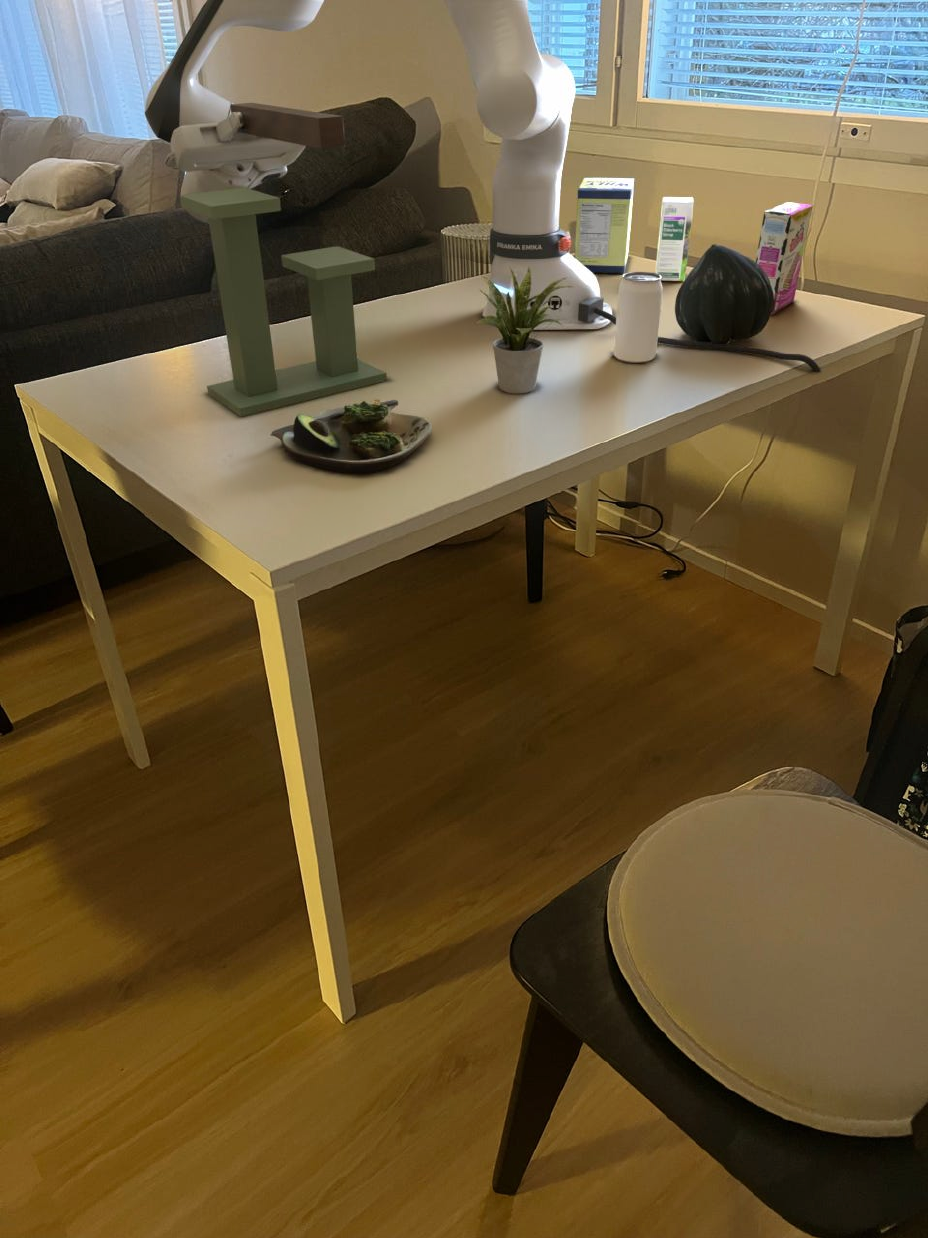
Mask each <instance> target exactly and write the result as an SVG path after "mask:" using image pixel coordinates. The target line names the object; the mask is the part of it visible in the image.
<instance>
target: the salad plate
mask: <svg viewBox="0 0 928 1238" xmlns="http://www.w3.org/2000/svg"><path fill="white" fill-rule="evenodd" d="M398 406H399V400H396V399H391V400H386V401H382V402H380V399H375V400H374V403H373V404H372V403H368V402H367V401H366V400H362V402H361V403H353V404H352V405H350V404H348V405H344V406H342V407H341V406H340V407H333V408H329V409H327V410H325V411H322V412H321V413H318V414H317V415H315V416H314V417H313V416H310V415H308V414H304V413H300V414H297V415H296V416H295V418H294V421H293V424H290V425H287V426H283V427H281V428H277V429H275V430H272V432H271V433H270V436H273V437H275V438H277V439H278V440H280V442H281V444H282V446H283V447H284V449H285V451H287V452H288V454H289V455H290V456H291V457H292V458H293V459H294V460H295V461H297V462H299V463H300V464H304V465H308V466H311V467H314V468H318V469H321V470H325V471H330V472H335V473H342V474H373V473H377V472H381V471H384V470H387V469H389V468H391V467H393V466H395V465H396V464H399V463H400V462H402V461H404V460H405V459H407V458H408V457H409V455H410V454H411V453H413V451H415V450H416V449H418V448H419V447H421V445H422V444H423V443H424V442H425V441H426V439H427V438H428V437H429V436H430V435H431V434H433V433H432V432H433V425H432V423H430V422H429V420H428V419H426V418H425V417H421V416H418V415H411V414H403V413H396V412H392V411H393V409H395V408H397V407H398Z"/></svg>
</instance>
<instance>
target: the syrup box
mask: <svg viewBox="0 0 928 1238" xmlns="http://www.w3.org/2000/svg"><path fill="white" fill-rule="evenodd" d="M694 204H695V203H694V198H693V197H692V196H691V197H690V196H689V197H681V196H680V197H679V196H678V197H677V196H676V197H675V196H663V197H662V200H661V208H660V209H661V210H660V218H659V219H660V220H659V230H658V231H659V232H658V240H657V251H656V262H655V271H654V273H656V274H658V275H660V276H661V279H660V281H661V282H663V281H664V282H684V281H685V279H686V275H687V264H688V258H689V257H688V256H689V249H690V247H689V246H690V240H691V239H690V238H691V229H692V221H693V214H694V213H693V212H694Z"/></svg>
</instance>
